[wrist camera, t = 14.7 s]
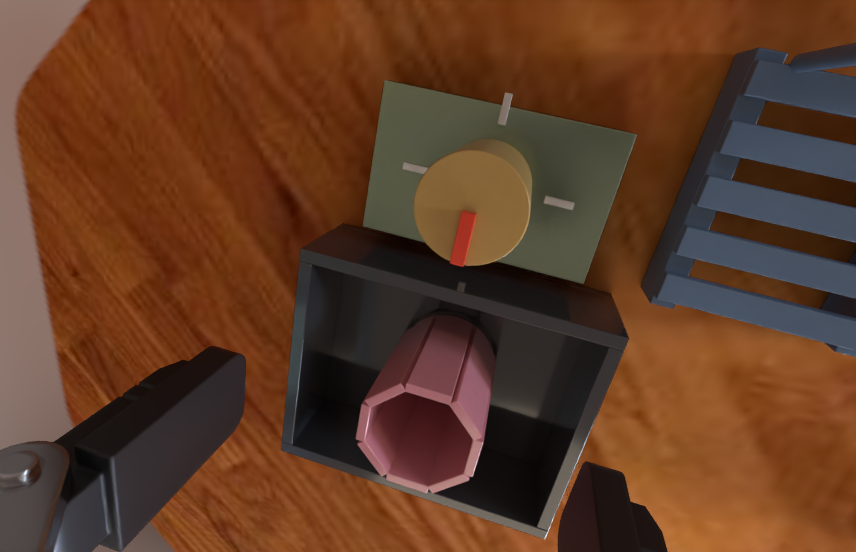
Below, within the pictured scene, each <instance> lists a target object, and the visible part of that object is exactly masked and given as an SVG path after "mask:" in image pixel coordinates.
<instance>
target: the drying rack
mask: <svg viewBox="0 0 856 552" xmlns="http://www.w3.org/2000/svg"><path fill="white" fill-rule="evenodd" d="M787 54H788V53H786V52H781V51H776V50H770V49H765V48H756V49H752V50H748V51H745V52H741V53H737V54H736V55H735V58H734V60H733V63H732V65H731V68H730V70H729V72H728V75H727V77H726V80H725V82H724V85H723V87H722V89H721V92H720V94H719V97H718V99H717V102H716V104H715V107H714V109H713V111H712V114H711V116H710V119H709V121H708V124H707V126H706V128H705V131H704V133H703V136H702V138H701V141H700V143H699V145H698V148H697V150H696V153H695V155H694V158H693V160H692V163H691V165H690V167H689V170H688V172H687V175H686V177H685V180H684V182H683V184H682V187H681V189H680V192H679V194H678V197H677V199H676V202H675V204H674V206H673V209H672V211H671V214H670V216H669V219H668V221H667V223H666V226H665V228H664V231H663V233H662V236H661V238H660V241H659V243H658V245H657V248H656V250H655V253H654V255H653V258H652V260H651V262H650V265H649V267H648V270H647V272H646V275H645V277H644V280H643V282H642V284H641V288H642V289H643V291H644V293H645V295H646V296H647V298H648V300H649V302H650V303H652V304H656V305H660V306H664V307H667V308H671V309H673V308H674V306H675V304H678V305H682V306H686V307H690V308H694V309H697V310H701V311H705V312H709V313H713V314H717V315H720V316H724V317H728V318H732V319H736V320H740V321H743V322H747V323H751V324H755V325H759V326H763V327H766V328H770V329H774V330H778V331H782V332H786V333H789V334H793V335H797V336H801V337H805V338H809V339H812V340H816V341H820V342H824V343H825V344H826V345H827V346H829V347H830V348H831V349H832V350H833V351H835V352H839V353H842V354H846V355H850V356H854V357H856V250H855V251H854V253H853V255H852V256H851V258H850V260H849V262H848V263H846V262H842V261H837V260H833V259H829V258H825V257H821V256H816V255H812V254H808V253H804V252H800V251H795V250H791V249H787V248H783V247H779V246H774V245H770V244H766V243H762V242H758V241H753V240H749V239H745V238H741V237H737V236H732V235H728V234H724V233H720V232H716V231H711V230H709V228H710V226H711V224H712V222H713V220H714V217H715V215H716V213H717V211H721V212H725V213H730V214H734V215H738V216H742V217H747V218H751V219H755V220H760V221H764V222H768V223H773V224H777V225H781V226H786V227H790V228H794V229H798V230H803V231H807V232H811V233H816V234H820V235H824V236H829V237H833V238H837V239H841V240H846V241H850V242H854V243H856V208H855V207H851V206H847V205H842V204H838V203H833V202H829V201H824V200H820V199H815V198H811V197H806V196H802V195H797V194H793V193H788V192H784V191H779V190H775V189H770V188H766V187H761V186H757V185H752V184H748V183H743V182H739V181H734V180H731V179H732V177H733V175H734V173H735V171H736V168H737V166H738V164H739V162H740V159H741V158H744V159H749V160H754V161H758V162H763V163H768V164H772V165H777V166H781V167H786V168H791V169H795V170H800V171H805V172H809V173H814V174H818V175H823V176H828V177H832V178H837V179H842V180H846V181H851V182H855V183H856V145H852V144H847V143H842V142H837V141H833V140H828V139H823V138H818V137H813V136H808V135H804V134H799V133H794V132H789V131H784V130H779V129H775V128H770V127H765V126H760V125H756V124H757V122H758V119H759V117H760V115H761V113H762V110H763V108H764V106H765V104H766V102H767V101H769V102H774V103H779V104H785V105H790V106H795V107H800V108H805V109H810V110H815V111H820V112H825V113H830V114H835V115H840V116H845V117H850V118H855V119H856V77H852V76H847V75H842V74H836V73H831V72H826V71H821V70H825V69H833V68H840V67H848V66H856V43H853V44H848V45H843V46H838V47H833V48H828V49H823V50H818V51H813V52H808V53H803V54H799V55H797V56H795V57H794V58H793V60H792V61H791V64H790V65H789V64H784V61H785V59H786V57H787ZM696 259H697V260H701V261H705V262H709V263H713V264H717V265H721V266H725V267H729V268H733V269H737V270H742V271H746V272H750V273H754V274H758V275H762V276H766V277H770V278H774V279H778V280H782V281H786V282H790V283H794V284H798V285H802V286H806V287H810V288H814V289H818V290H823V291H827V292H830V294H829V296H828V297H827V299H826V301H825V303H824V304H823V306H822V308H821V309H817V308H813V307H809V306H805V305H801V304H797V303H793V302H789V301H785V300H781V299H777V298H773V297H769V296H766V295H762V294H758V293H754V292H750V291H746V290H742V289H738V288H734V287H730V286H726V285H722V284H718V283H714V282H710V281H706V280H702V279H698V278H694V277H690V276H688V275H689V273H690V271H691V268H692V266H693V264H694V262H695V260H696Z"/></svg>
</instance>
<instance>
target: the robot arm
mask: <svg viewBox="0 0 856 552" xmlns="http://www.w3.org/2000/svg"><path fill="white" fill-rule="evenodd" d="M245 374H246V360H245V357H244V356H243V355H242V354H239V353H236V352H232V351H229V350H226V349H223V348H219V347H216V346H210V347H208V348H206V349H205V350H204V351H202V352H201V353H200V354H198V355H197V356H195V357H194V358H193V359H191V360H190V361H186V360H181V361H179V362H176V363H173V364H171V365H168V366H165V367H163V368H160V369H158V370H157V371H155V372H154V373H152V374H151V375H150V376H148V377H147V378H145V379H144V380H142V381H141V382H140V383H139V385H138V386H137V385H135V386H134V387H132V388H131V389H129V390H128V391H126V392H125V393H124V394H123V396H122V397H118V398H116V399H115V400H114V401H112V402H111V403H109V404H108V405H106V406H105V407H103V408H102V409H101V410H99V411H98V412H96V413H95V414H93V415H92V416H90V417H89V418H88V419H86V420H85V421H83V422H82V423H80V424H79V425H78V426H76V427H75V428H73V429H72V430H70V431H69V432H67V433H66V434H65V435H63V436H62V437H60V438H59V439H57V440H56V441H54V442H48V441H33V442H26V443H20V444H17V445H13V446H10V447H7V448H4V449H2V450H0V552H92V551H93V550H94V549H95V548H96V547H97V546H98V545H99V544H100V545H103V546H105V547H108V548H110V549H113V550H116V551H118V552H121V551H122V550H123V549H124V548H125V547H126V546H127V545H128V544H129V543H130V542H131V541H132V540H133V539H134V537H135V536H136V535H137V534H138V533H139V532H140V531H141V530H142V529H143V528H144V527H145V526H146V525H147V524H148V523H149V521H150V520H151V519H152V518H153V517H154V516H155V515H156V514H157V513H158V512H159V511H160V510H161V509H162V508H163V507H164V505H165V504H166V503H167V502H168V501H169V500H170V499H171V498H172V497H173V496H174V495H175V494H176V493H177V492H178V491H179V489H180V488H181V487H182V486H183V485H184V484H185V483H186V482H187V481H188V480H189V479H190V478H191V477H192V476H193V475H194V473H195V472H196V471H197V470H198V469H199V468H200V467H201V466H202V465H203V464H204V463H205V462H206V461H207V460H208V459H209V457H210V456H211V455H212V454H213V453H214V452H215V451H216V450H217V449H218V448H219V447H220V446H221V445H222V444H223V443H224V441H225V440H226V439H227V438H228V437H229V436H230V435H231V434H232V433H233V432H234V430H235V429H236V427H237V426H238V424H239V422H240V420H241V417H242V414H243V411H244V400H245ZM558 552H668V551H667V548H666V544H665V541H664V537H663V534H662V531H661V529H660V528H659V526H658V525H657V523H656V522H655V520H654V519H653V517H652V516H651V514H650V513H649V511H648V510H647V508H646V507H645V506H642V505H639V504H636V503H633V502H630V498H629V493H628V489H627V484H626V480H625V476H624V474H623V473H622V472H620V471H616V470H613V469H610V468H607V467H603V466H600V465H597V464H594V463H590V462H584V464H583V465H582V467H581V469H580V471H579V474H578V476H577V479H576V481H575V484H574V486H573V488H572V491H571V493H570V496H569V498H568V500H567V503H566V505H565V508H564V510H563V513H562V516H561V520H560V525H559V532H558Z"/></svg>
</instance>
